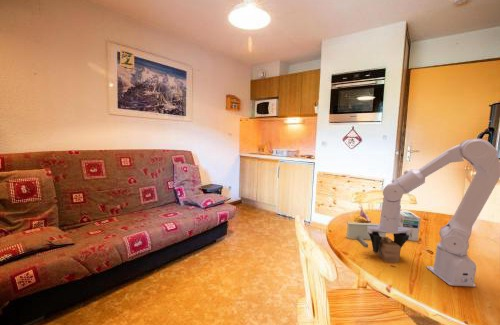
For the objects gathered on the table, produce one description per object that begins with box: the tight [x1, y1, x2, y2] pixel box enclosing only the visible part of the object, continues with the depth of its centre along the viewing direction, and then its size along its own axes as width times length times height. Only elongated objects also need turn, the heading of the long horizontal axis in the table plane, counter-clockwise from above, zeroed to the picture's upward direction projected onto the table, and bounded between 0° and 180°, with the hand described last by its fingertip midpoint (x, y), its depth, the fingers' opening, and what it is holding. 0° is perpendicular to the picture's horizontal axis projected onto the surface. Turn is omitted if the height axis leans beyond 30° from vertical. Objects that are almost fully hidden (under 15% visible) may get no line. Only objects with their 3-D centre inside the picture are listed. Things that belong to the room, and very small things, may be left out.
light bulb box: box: [398, 209, 422, 242], centre depth 102 cm, size 11×7×11 cm, turn 168°
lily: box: [353, 203, 371, 223], centre depth 117 cm, size 12×12×10 cm
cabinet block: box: [375, 236, 402, 264], centre depth 83 cm, size 8×5×7 cm, turn 0°
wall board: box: [346, 221, 387, 248], centre depth 94 cm, size 9×16×7 cm, turn 90°
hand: (385, 251), depth 83 cm, fingers open, 7 cm apart
